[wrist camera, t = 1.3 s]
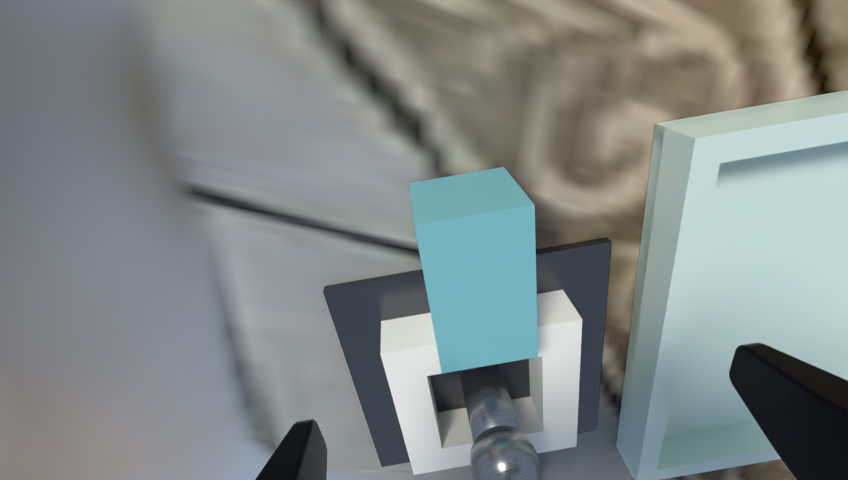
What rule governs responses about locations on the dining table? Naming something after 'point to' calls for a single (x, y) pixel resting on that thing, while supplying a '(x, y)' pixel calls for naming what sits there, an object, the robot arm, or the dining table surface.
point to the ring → (480, 319)
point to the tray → (733, 276)
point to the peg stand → (478, 387)
